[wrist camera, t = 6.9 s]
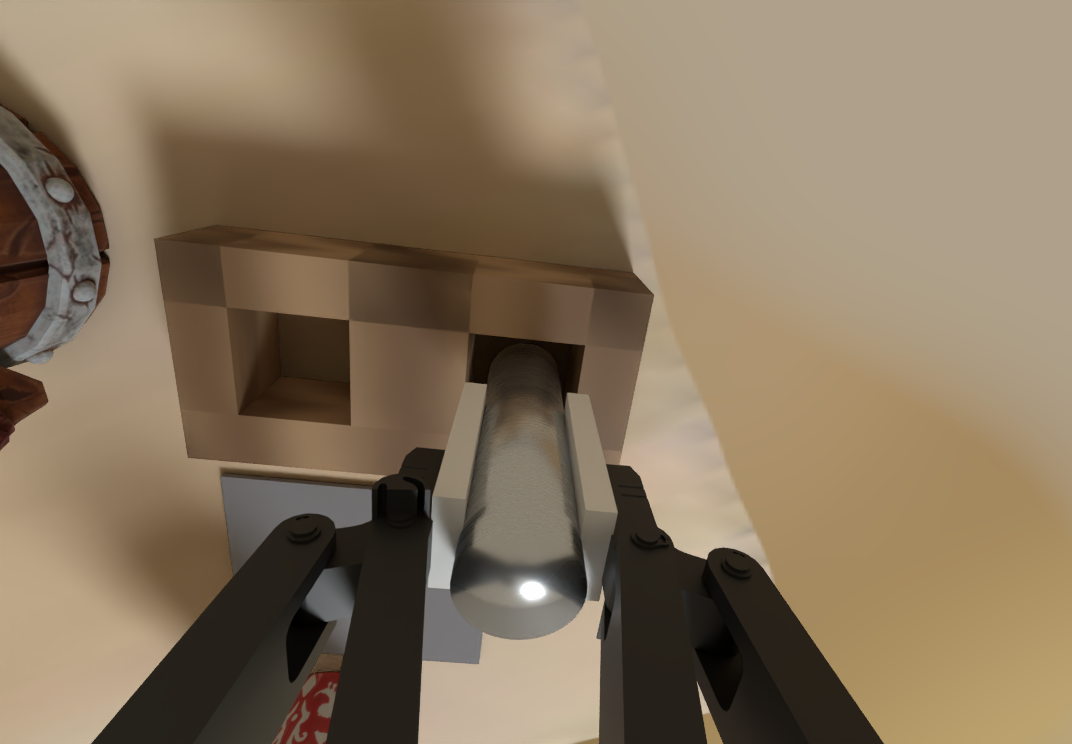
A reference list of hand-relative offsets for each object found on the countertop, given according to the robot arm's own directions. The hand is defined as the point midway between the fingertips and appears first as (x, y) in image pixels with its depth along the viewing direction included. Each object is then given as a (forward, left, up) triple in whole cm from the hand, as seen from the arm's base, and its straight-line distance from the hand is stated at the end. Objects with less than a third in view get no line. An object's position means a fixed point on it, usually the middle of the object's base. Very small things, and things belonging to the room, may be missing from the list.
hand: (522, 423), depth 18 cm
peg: (0, 0, -4) cm, 4 cm away
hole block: (-5, 0, -7) cm, 8 cm away
